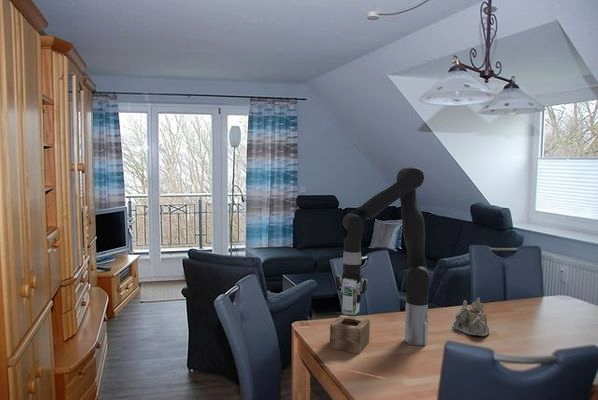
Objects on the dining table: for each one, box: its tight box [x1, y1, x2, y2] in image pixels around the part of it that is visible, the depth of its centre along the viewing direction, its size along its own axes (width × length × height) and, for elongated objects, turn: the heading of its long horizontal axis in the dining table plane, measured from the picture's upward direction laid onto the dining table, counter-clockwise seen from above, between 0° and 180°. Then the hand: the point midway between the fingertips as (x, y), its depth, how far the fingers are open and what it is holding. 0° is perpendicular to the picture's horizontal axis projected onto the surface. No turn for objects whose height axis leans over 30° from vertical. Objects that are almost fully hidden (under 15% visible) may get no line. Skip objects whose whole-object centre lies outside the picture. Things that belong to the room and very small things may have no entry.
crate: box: [329, 314, 371, 355], centre depth 189 cm, size 13×13×10 cm
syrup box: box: [341, 278, 361, 316], centre depth 188 cm, size 6×6×14 cm
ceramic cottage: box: [453, 297, 491, 337], centre depth 208 cm, size 16×16×15 cm
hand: (351, 301), depth 188 cm, fingers closed on syrup box, 5 cm apart
